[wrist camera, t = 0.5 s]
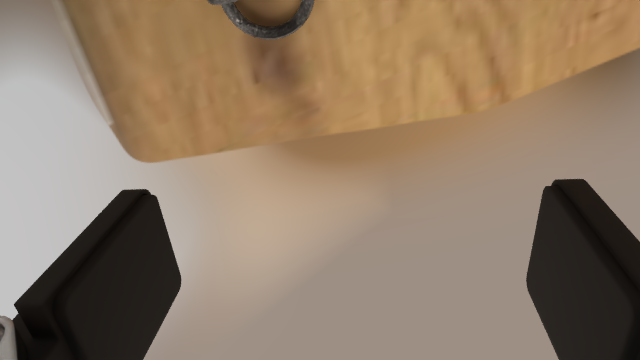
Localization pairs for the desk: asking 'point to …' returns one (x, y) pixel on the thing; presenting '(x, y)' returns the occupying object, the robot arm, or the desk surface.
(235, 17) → the valve
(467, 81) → the desk surface
